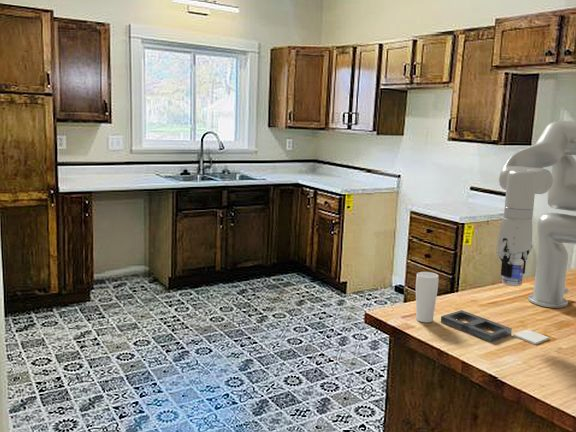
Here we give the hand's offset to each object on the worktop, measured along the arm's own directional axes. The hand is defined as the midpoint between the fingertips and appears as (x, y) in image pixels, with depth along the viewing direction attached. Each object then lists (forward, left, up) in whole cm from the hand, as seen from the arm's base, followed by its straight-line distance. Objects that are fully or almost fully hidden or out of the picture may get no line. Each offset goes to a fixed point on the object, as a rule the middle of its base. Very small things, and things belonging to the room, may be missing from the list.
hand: (512, 273), depth 157 cm
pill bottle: (0, 0, -3) cm, 3 cm away
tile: (-4, +5, -19) cm, 20 cm away
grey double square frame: (+4, -8, -19) cm, 21 cm away
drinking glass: (+12, -21, -19) cm, 31 cm away
